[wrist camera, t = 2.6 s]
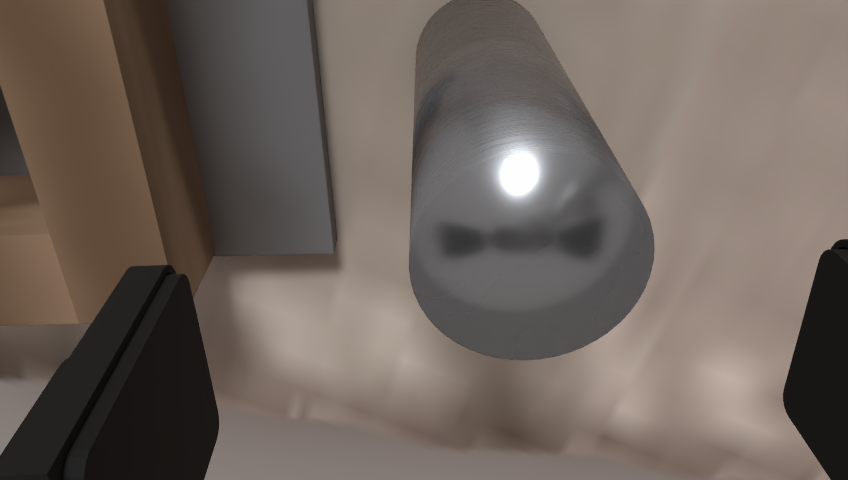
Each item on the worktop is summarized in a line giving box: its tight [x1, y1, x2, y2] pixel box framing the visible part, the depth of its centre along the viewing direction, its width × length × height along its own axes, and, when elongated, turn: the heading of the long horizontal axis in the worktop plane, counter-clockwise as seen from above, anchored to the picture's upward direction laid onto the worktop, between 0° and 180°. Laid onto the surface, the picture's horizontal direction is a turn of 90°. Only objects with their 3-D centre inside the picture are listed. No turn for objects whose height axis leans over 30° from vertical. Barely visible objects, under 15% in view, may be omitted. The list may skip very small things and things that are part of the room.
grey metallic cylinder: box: [409, 0, 654, 360], centre depth 17 cm, size 4×4×12 cm
